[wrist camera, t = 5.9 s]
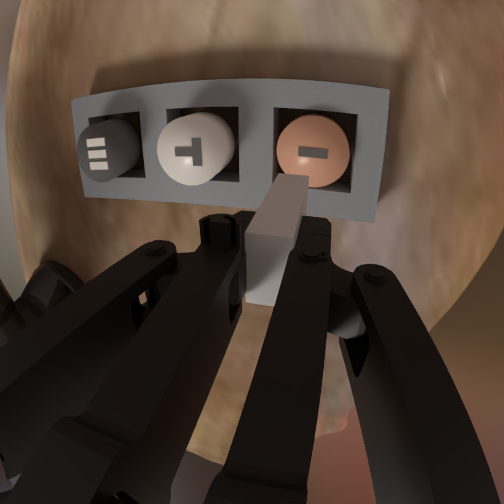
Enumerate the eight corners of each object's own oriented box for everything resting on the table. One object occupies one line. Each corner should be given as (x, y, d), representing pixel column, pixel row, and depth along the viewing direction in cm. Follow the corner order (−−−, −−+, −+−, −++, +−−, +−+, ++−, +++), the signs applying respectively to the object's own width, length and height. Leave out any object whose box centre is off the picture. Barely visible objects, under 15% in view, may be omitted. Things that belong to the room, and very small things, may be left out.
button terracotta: (282, 172, 30) (275, 184, 27) (283, 110, 27) (277, 114, 24) (345, 179, 28) (345, 191, 25) (350, 116, 25) (352, 120, 22)
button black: (101, 172, 32) (80, 182, 29) (94, 120, 29) (72, 127, 26) (143, 171, 31) (124, 183, 28) (138, 115, 28) (117, 121, 25)
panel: (99, 188, 37) (84, 197, 34) (87, 96, 30) (70, 99, 28) (370, 210, 30) (373, 222, 27) (384, 89, 24) (389, 89, 21)
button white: (177, 172, 30) (159, 184, 27) (173, 113, 27) (153, 118, 24) (235, 175, 29) (223, 187, 26) (234, 111, 26) (220, 115, 23)
